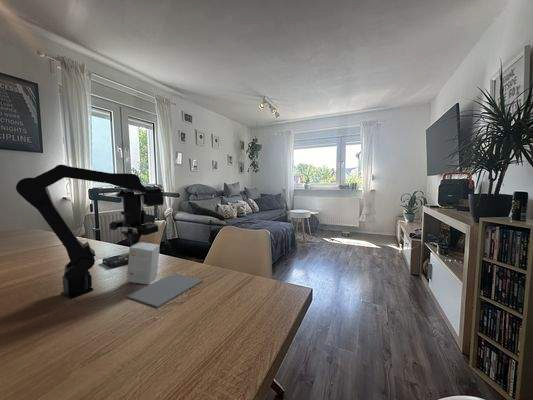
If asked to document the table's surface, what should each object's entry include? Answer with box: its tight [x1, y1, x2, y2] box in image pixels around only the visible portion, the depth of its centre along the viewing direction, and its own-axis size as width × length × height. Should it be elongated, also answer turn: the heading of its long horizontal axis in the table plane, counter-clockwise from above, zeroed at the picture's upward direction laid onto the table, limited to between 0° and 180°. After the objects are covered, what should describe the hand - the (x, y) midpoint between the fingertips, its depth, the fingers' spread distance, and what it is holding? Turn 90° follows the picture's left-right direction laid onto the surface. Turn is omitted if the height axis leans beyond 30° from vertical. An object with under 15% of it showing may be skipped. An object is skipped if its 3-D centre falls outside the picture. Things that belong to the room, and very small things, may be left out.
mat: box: [125, 272, 204, 309], centre depth 80 cm, size 20×14×1 cm
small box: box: [126, 241, 160, 286], centre depth 85 cm, size 8×6×13 cm
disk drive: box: [101, 252, 129, 269], centre depth 106 cm, size 10×3×15 cm
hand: (135, 249), depth 87 cm, fingers closed
